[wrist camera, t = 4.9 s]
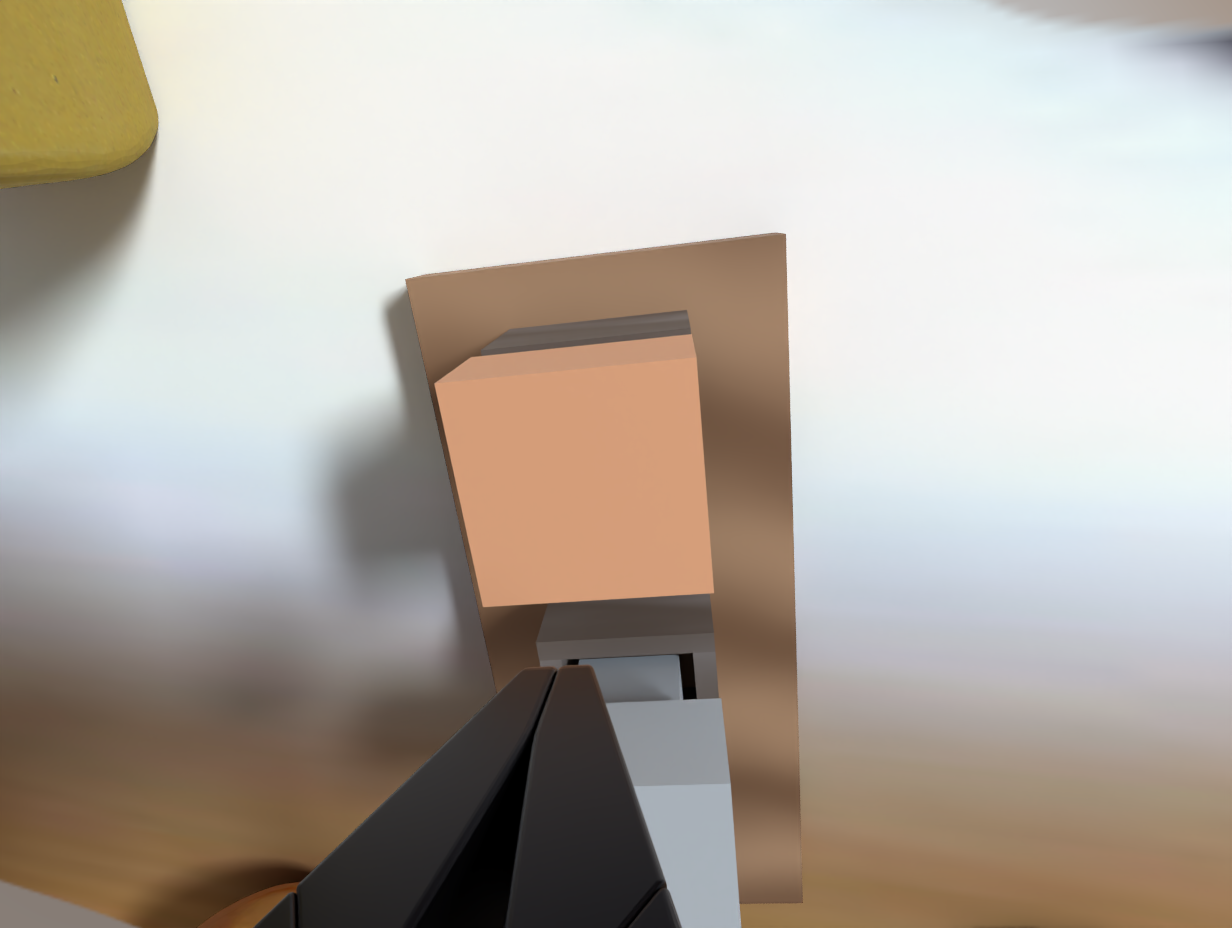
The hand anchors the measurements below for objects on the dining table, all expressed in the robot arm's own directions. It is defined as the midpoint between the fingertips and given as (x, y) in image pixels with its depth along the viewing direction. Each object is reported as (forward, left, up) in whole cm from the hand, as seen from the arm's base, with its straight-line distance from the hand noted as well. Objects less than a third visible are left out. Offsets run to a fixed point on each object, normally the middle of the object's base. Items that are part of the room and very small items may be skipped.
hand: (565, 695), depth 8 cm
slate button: (-7, 0, -9) cm, 12 cm away
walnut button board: (-7, 0, -13) cm, 15 cm away
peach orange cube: (+1, 0, -11) cm, 11 cm away
